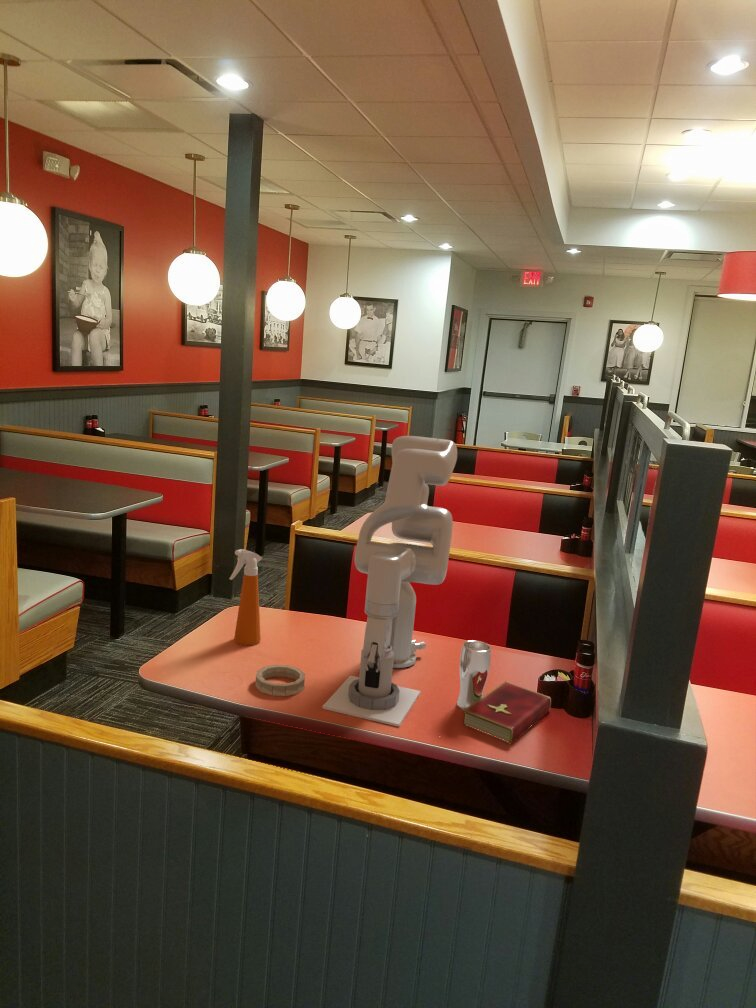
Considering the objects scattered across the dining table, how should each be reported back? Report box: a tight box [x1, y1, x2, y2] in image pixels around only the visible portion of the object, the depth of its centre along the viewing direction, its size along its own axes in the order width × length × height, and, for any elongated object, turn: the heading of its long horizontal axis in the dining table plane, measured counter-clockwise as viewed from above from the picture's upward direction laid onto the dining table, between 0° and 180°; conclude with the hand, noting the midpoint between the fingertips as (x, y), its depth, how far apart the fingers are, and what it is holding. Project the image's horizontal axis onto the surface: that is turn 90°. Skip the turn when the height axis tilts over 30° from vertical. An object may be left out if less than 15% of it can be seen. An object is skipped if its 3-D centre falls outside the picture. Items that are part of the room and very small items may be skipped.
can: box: [358, 644, 394, 697], centre depth 167 cm, size 8×8×12 cm
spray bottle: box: [229, 548, 263, 646], centre depth 193 cm, size 7×11×26 cm, turn 143°
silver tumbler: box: [456, 639, 492, 710], centre depth 169 cm, size 7×7×15 cm
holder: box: [322, 675, 422, 728], centre depth 168 cm, size 18×18×3 cm
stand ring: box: [255, 664, 306, 697], centre depth 172 cm, size 11×11×2 cm
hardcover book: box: [462, 680, 552, 744], centre depth 165 cm, size 12×21×4 cm, turn 144°
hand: (375, 679), depth 168 cm, fingers closed on can, 7 cm apart
